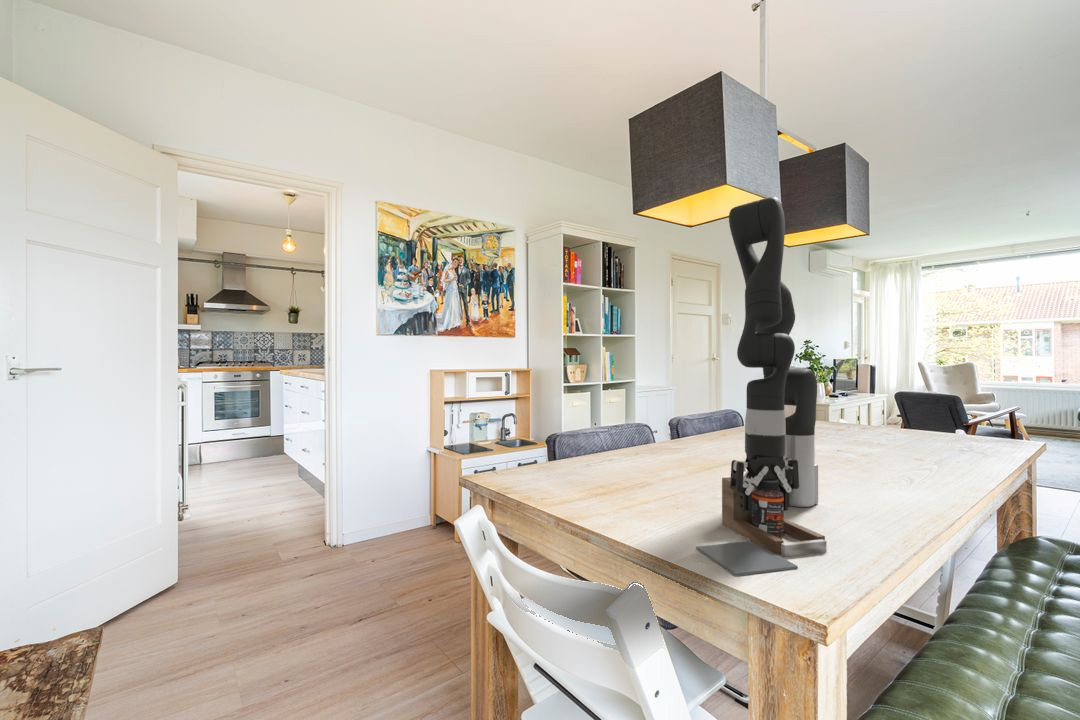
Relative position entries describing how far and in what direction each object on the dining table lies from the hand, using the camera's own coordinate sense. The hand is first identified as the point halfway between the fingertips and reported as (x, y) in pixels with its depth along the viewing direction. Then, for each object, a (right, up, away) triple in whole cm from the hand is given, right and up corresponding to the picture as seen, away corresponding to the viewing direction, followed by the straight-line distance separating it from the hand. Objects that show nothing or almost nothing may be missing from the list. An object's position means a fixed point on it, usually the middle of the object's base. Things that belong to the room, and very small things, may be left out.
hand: (764, 511), depth 100 cm
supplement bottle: (+1, -5, 0) cm, 5 cm away
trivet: (-9, -5, -12) cm, 15 cm away
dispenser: (+1, -5, -1) cm, 5 cm away
